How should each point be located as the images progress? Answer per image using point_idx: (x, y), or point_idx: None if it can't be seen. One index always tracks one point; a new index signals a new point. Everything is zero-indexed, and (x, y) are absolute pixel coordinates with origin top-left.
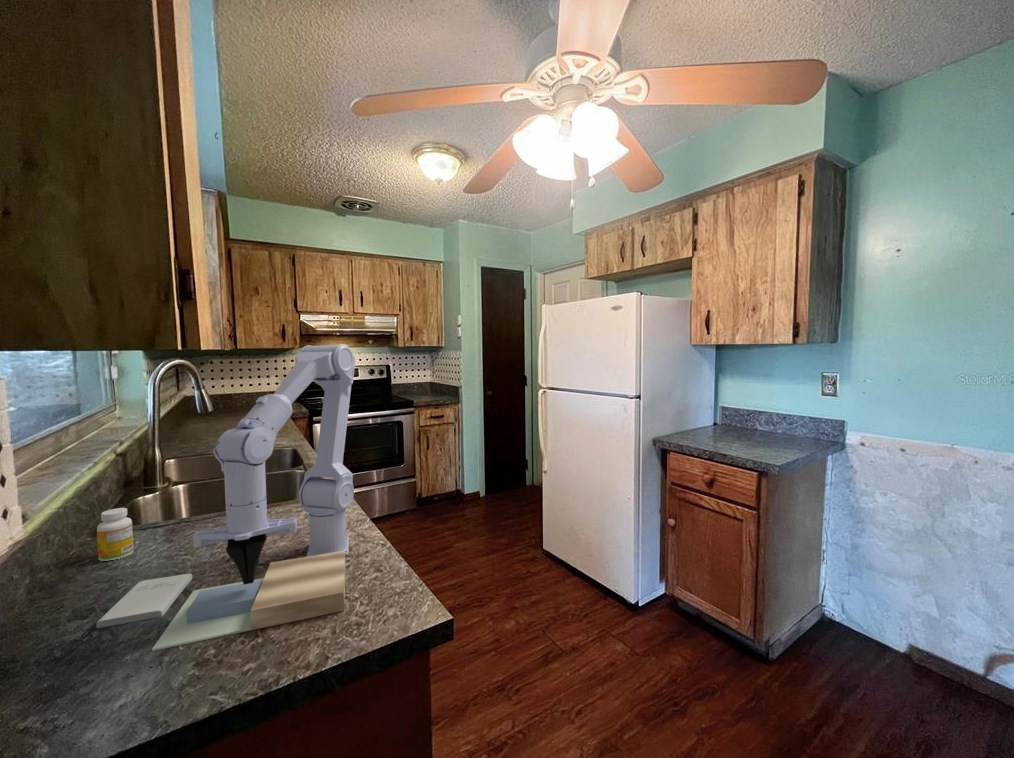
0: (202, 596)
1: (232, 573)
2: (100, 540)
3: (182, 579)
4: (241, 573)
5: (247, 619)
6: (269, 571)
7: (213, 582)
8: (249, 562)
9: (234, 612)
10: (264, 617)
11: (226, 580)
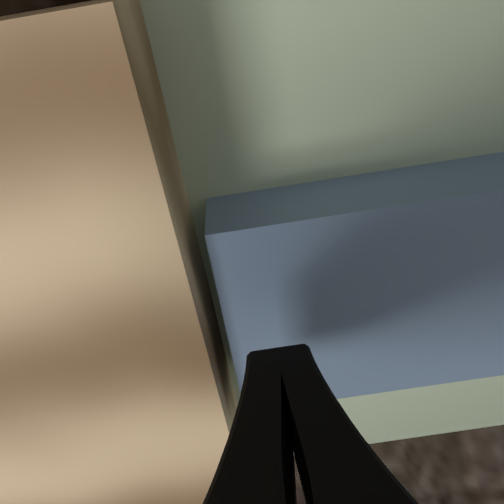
0: None
1: (431, 499)
2: None
3: None
4: (330, 404)
5: (210, 110)
6: None
7: (493, 457)
8: (266, 498)
9: (313, 187)
10: (34, 12)
11: (443, 462)
